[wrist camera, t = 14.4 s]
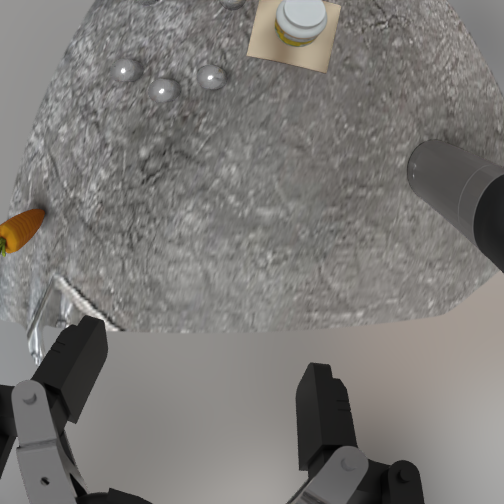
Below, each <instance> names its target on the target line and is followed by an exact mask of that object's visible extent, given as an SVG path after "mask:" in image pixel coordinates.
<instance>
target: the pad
mask: <svg viewBox="0 0 504 504" xmlns="http://www.w3.org/2000/svg"><path fill="white" fill-rule="evenodd" d="M282 1H283V0H259V5H258V9H257V13H256V17H255V21H254V25H253V30H252V34H251V38H250V43H249V47H248V52H247V56H250V57H255V58H261V59H266V60H271V61H276V62H281V63H285V64H290V65H294V66H298V67H302V68H307V69H310V70H314V71H318V72H322V73H326V72H327V68H328V63H329V59H330V55H331V50H332V46H333V41H334V37H335V32H336V28H337V23H338V18H339V14H340V9H341V6H339V5H336V4H332V3H329V2H325V1H322V2H323V3H324V5H325V9H326V13H327V24H326V27H325V28H324V30H323V31H322V32H321V33H320V34H319V36H318V37H317V38H316V39H315V40H314V41H313V42H312V43H311V44H309V45H307V46H304V47H293V46H289V45H287V44H285V43H283V42H282V41H281V40H280V39H279V37H278V36H277V34H276V31H275V18H276V10H277V8H278V6H279V4H280V3H281V2H282Z"/></svg>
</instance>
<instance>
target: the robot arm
mask: <svg viewBox="0 0 504 504" xmlns="http://www.w3.org/2000/svg"><path fill="white" fill-rule="evenodd" d="M407 175H408V181H409V183H410V186H411V188H412V189H413V191H414V192H415V193H416V194H417V195H418V196H419V197H420V198H421V199H423V200H424V201H425V202H426V203H428V204H429V205H430V206H431V207H432V208H433V209H435V210H436V211H437V212H438V213H439V214H441V215H442V216H443V217H444V218H445V219H446V220H447V221H449V222H450V223H451V224H452V225H453V226H454V227H455V228H457V229H458V230H459V231H460V232H461V233H462V234H463V235H464V236H465V237H466V238H468V239H469V240H470V241H471V242H472V243H473V244H474V245H475V246H476V247H477V248H478V249H479V250H480V251H481V252H482V253H483V254H484V255H485V256H486V257H488V258H489V259H490V260H491V261H492V262H493V263H494V264H495V265H496V266H497V267H498V268H499V269H500V270H501V271H502V272H503V273H504V167H501V166H499V165H497V164H495V163H493V162H491V161H489V160H486V159H484V158H482V157H480V156H477V155H475V154H473V153H470V152H468V151H465V150H463V149H461V148H458V147H456V146H453V145H451V144H448V143H446V142H443V141H439V140H429V141H426V142H424V143H422V144H421V145H419V146H418V147H417V148H416V149H415V151H414V152H413V154H412V155H411V158H410V160H409V164H408V173H407ZM107 353H108V344H107V337H106V330H105V323H104V321H103V320H101V319H98V318H94V317H91V316H88V315H85V316H84V317H83V318H82V320H81V321H80V323H79V324H78V326H76V325H73V324H71V325H70V326H69V327H67V328H66V329H64V330H63V331H62V332H61V333H60V335H59V336H58V338H57V339H56V342H55V343H54V344H53V345H52V347H51V350H49V351H48V353H47V355H46V356H45V358H44V359H43V361H42V362H41V364H40V366H39V367H38V369H37V371H36V372H35V374H34V375H33V377H32V378H31V379H30V380H25V381H22V382H20V383H19V384H17V385H16V386H6V385H0V479H1V476H2V473H3V470H4V467H5V465H6V462H7V459H8V457H9V454H10V451H11V449H12V446H13V444H14V441H15V439H16V437H18V440H19V447H17V449H16V453H17V459H18V463H19V467H20V471H21V475H22V479H23V482H24V486H25V489H26V492H27V496H28V499H29V502H30V504H152V503H150V502H148V501H146V500H144V499H143V498H141V497H139V496H135V495H132V494H128V493H125V492H121V491H118V490H115V489H112V488H109V492H108V493H105V492H103V493H102V492H101V493H100V492H98V493H89V491H88V489H87V486H86V484H85V482H84V479H83V478H82V476H81V474H80V472H79V470H78V467H77V465H76V462H75V459H74V456H73V454H72V451H71V448H70V445H69V441H68V439H67V435H66V432H65V429H64V427H65V425H66V423H67V421H70V422H72V423H75V424H76V423H77V421H78V419H79V416H80V414H81V412H82V409H83V407H84V405H85V403H86V401H87V398H88V396H89V394H90V392H91V390H92V388H93V386H94V383H95V381H96V379H97V377H98V375H99V373H100V371H101V369H102V367H103V365H104V362H105V360H106V358H107ZM350 410H351V408H350V404H349V399H348V393H347V389H346V387H345V386H344V384H343V383H342V381H341V380H340V379H336V378H333V377H332V371H331V367H330V365H329V364H319V363H310V364H309V365H308V367H307V369H306V371H305V373H304V375H303V377H302V379H301V381H300V383H299V385H298V388H297V391H296V414H297V435H298V456H299V470H301V471H308V477H309V478H308V479H307V480H306V481H305V482H304V484H303V485H302V486H301V487H300V488H299V490H297V492H296V493H295V494H294V495H293V496H292V497H291V499H290V500H289V501H288V502H287V503H286V504H425V503H424V497H423V491H422V485H421V479H420V474H419V471H418V469H417V467H416V466H415V465H414V464H413V463H411V462H409V461H405V460H401V461H397V462H395V463H394V464H392V465H386V464H382V463H379V462H374V461H372V460H370V459H367V457H366V455H365V454H364V453H363V452H362V451H361V450H360V449H359V448H358V446H357V442H356V436H355V431H354V425H353V419H352V414H351V412H350Z"/></svg>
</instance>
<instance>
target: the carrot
mask: <svg viewBox="0 0 504 504" xmlns="http://www.w3.org/2000/svg"><path fill="white" fill-rule="evenodd" d="M44 215H45V212H44V210H42V209H32V210H28V211H26V212H23V213H21V214H18V215H16V216H14V217H12V218H10V219H9V220H7V221H6V222H4V223H3V224H1V225H0V253H1V251H2V255H3V256H4V257H5V256H6V253H5V251H6V252H7V253H12V252H16V251H18V250H19V249H20V248H21V247H23V246H24V245H25V244H26V243H27V242H28V241H29V240H30V239H31V238H32V237H33V236H34V234H35V233H36V232H37V230H38V229H39V228H40V226H41V224H42V221H43V218H44Z"/></svg>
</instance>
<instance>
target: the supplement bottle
mask: <svg viewBox="0 0 504 504" xmlns="http://www.w3.org/2000/svg"><path fill="white" fill-rule="evenodd" d="M326 24H327V13H326V9H325V5H324V3H323V2H322V1H321V0H283V1H282V2H281V3H280V4H279V6H278V8H277V10H276V18H275V31H276V34H277V36H278V37H279V39H280V40H281V41H282V42H283V43H285V44H287V45H289V46H293V47H304V46H307V45H309V44H311V43H312V42H313V41H314V40H315V39H316V38H317V37H318V36H319V34H320V33H321V32H322V31H323V30H324V28H325V27H326Z"/></svg>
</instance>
